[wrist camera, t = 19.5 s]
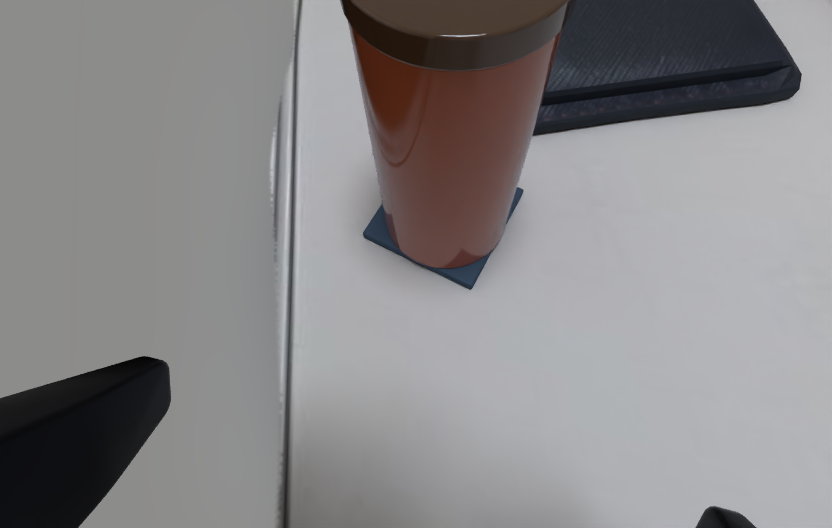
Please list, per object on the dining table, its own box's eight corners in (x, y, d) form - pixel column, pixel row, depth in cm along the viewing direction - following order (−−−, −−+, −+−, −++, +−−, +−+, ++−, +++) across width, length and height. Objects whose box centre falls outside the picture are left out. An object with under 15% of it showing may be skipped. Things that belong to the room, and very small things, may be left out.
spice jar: (534, 224, 23) (644, -42, 11) (433, 295, 21) (434, 80, 10) (456, 143, 25) (477, -153, 13) (359, 204, 24) (286, -66, 12)
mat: (471, 290, 22) (471, 286, 22) (363, 237, 23) (362, 233, 23) (522, 194, 24) (523, 189, 24) (420, 151, 25) (420, 145, 25)
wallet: (450, 122, 24) (417, -63, 30) (449, 145, 25) (418, -34, 32) (833, 80, 24) (722, -95, 30) (806, 106, 26) (706, -64, 32)
